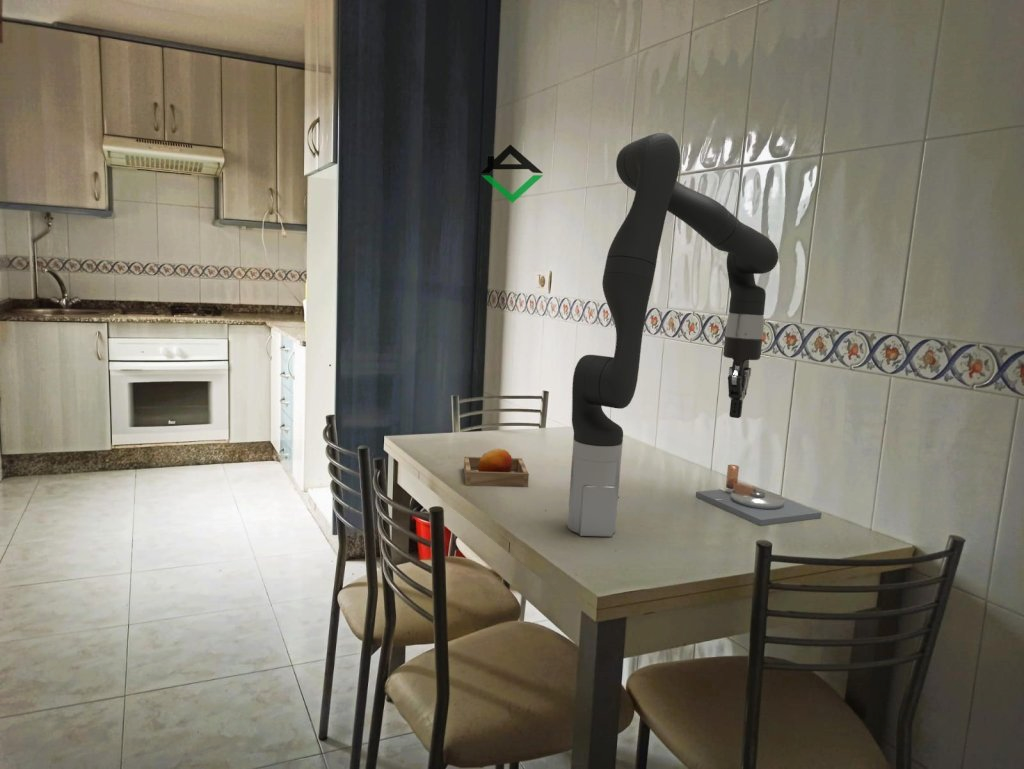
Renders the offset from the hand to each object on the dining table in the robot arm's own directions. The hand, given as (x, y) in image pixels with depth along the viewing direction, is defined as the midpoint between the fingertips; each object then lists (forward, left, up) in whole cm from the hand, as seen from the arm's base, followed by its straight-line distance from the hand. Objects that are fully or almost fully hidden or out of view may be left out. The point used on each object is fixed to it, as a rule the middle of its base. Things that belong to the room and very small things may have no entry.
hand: (735, 417), depth 158 cm
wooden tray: (+19, +49, -20) cm, 56 cm away
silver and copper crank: (+2, -6, -19) cm, 20 cm away
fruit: (+19, +49, -20) cm, 56 cm away
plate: (+1, -7, -20) cm, 21 cm away
